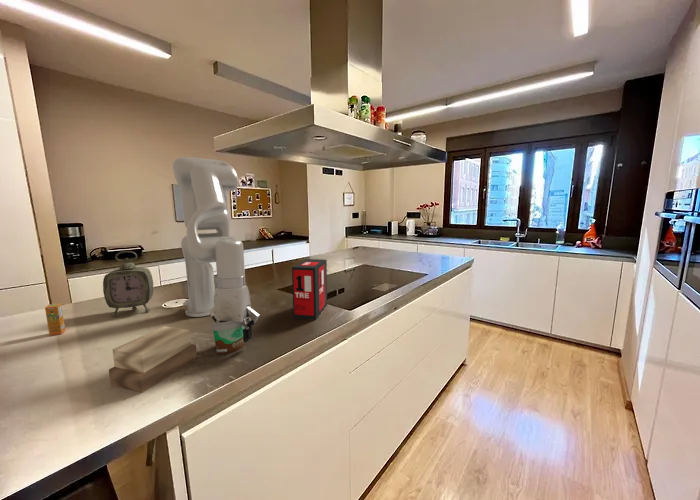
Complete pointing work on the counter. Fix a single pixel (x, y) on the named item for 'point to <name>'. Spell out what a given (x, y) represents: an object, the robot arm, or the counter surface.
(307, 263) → the cleaning product box
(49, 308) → the supplement box
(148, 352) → the tower top block
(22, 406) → the counter surface
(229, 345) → the food container
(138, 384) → the tower base block
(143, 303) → the tabletop clock
